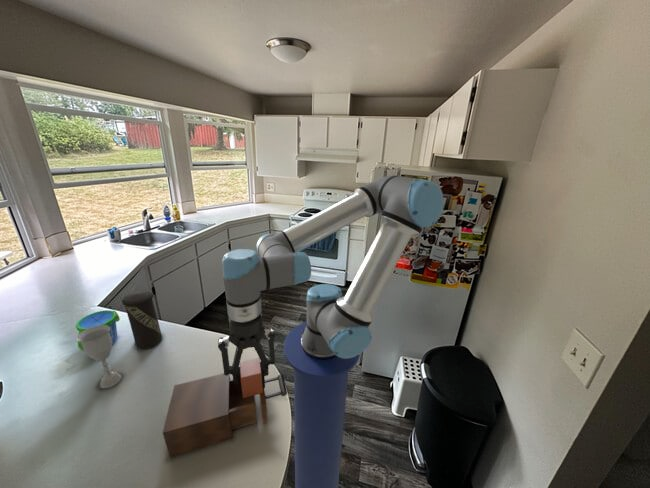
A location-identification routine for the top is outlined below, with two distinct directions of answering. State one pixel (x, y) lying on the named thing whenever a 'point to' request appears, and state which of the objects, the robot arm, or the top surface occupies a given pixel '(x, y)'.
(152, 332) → the container
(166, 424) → the cabinet
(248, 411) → the drawer
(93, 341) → the chalice
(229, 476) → the top surface
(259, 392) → the block
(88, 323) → the snack cup
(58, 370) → the top surface
